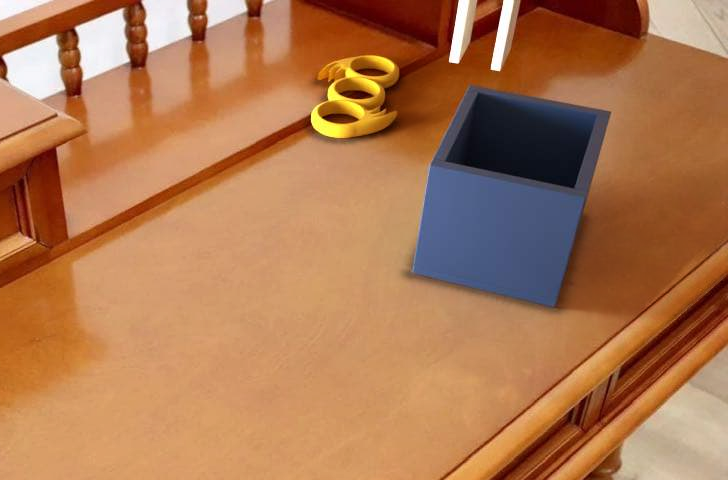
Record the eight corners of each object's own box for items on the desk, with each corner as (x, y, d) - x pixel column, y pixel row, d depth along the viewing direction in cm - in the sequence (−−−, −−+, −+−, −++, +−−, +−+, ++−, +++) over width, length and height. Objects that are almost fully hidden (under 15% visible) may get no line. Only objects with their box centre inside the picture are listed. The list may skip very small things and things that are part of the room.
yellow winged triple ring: (423, 75, 119) (335, 58, 122) (425, 61, 118) (336, 45, 121) (378, 150, 108) (283, 129, 111) (380, 136, 107) (284, 116, 110)
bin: (450, 189, 103) (469, 84, 96) (581, 217, 99) (611, 111, 92) (412, 273, 93) (429, 164, 86) (555, 308, 90) (586, 197, 83)
